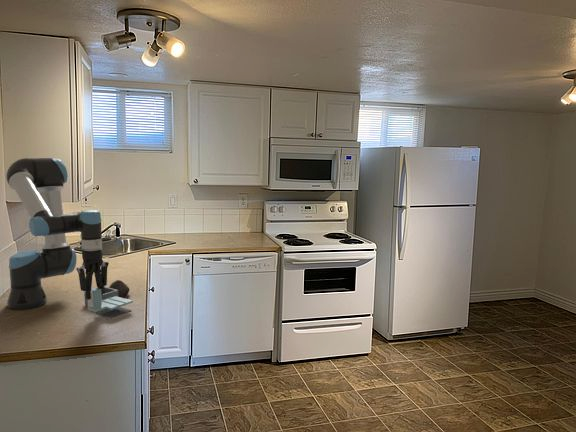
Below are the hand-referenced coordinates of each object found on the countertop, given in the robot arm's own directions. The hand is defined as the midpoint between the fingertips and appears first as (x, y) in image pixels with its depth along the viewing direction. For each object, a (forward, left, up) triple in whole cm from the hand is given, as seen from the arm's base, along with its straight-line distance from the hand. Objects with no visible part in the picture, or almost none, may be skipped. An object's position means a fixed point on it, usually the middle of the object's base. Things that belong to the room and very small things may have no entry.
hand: (94, 305), depth 182 cm
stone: (-16, +25, -6) cm, 30 cm away
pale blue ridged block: (0, +7, -2) cm, 7 cm away
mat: (0, +9, -6) cm, 11 cm away
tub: (-13, +13, -6) cm, 19 cm away
